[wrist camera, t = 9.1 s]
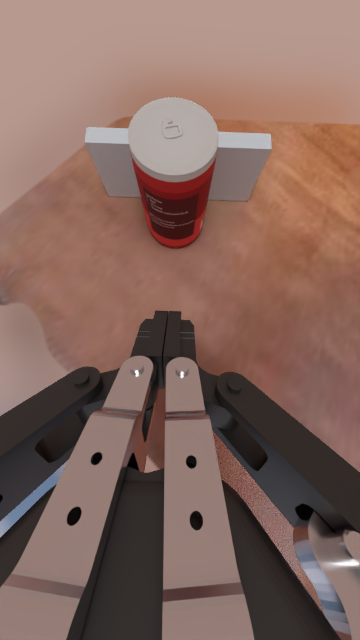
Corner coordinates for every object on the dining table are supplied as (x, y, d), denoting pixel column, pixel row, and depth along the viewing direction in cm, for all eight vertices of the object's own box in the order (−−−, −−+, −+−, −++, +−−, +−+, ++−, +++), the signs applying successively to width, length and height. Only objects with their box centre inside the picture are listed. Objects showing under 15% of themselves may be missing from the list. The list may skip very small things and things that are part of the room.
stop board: (245, 160, 28) (268, 97, 21) (247, 201, 27) (271, 149, 20) (113, 155, 28) (91, 90, 21) (108, 196, 27) (84, 142, 20)
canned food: (184, 190, 27) (189, 82, 16) (213, 234, 26) (238, 150, 15) (137, 213, 26) (109, 117, 15) (165, 259, 25) (155, 190, 14)
